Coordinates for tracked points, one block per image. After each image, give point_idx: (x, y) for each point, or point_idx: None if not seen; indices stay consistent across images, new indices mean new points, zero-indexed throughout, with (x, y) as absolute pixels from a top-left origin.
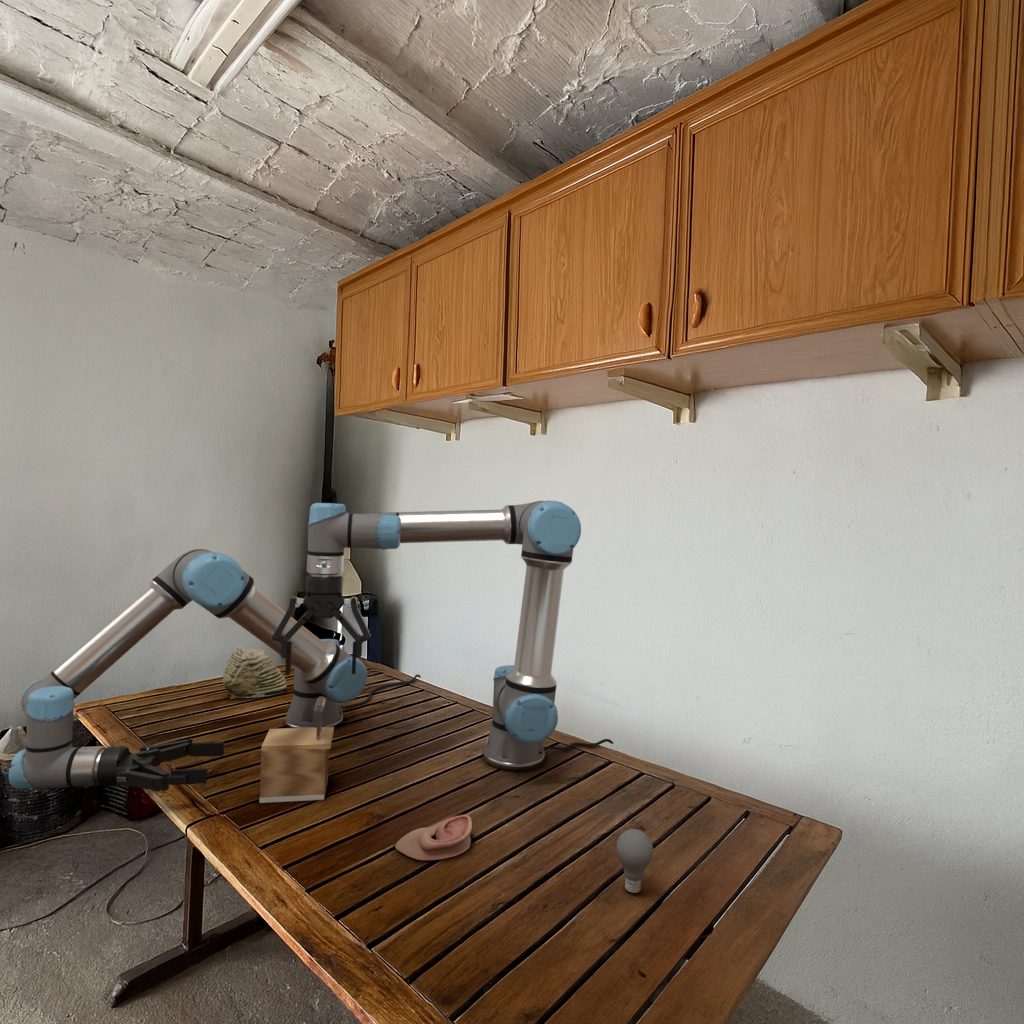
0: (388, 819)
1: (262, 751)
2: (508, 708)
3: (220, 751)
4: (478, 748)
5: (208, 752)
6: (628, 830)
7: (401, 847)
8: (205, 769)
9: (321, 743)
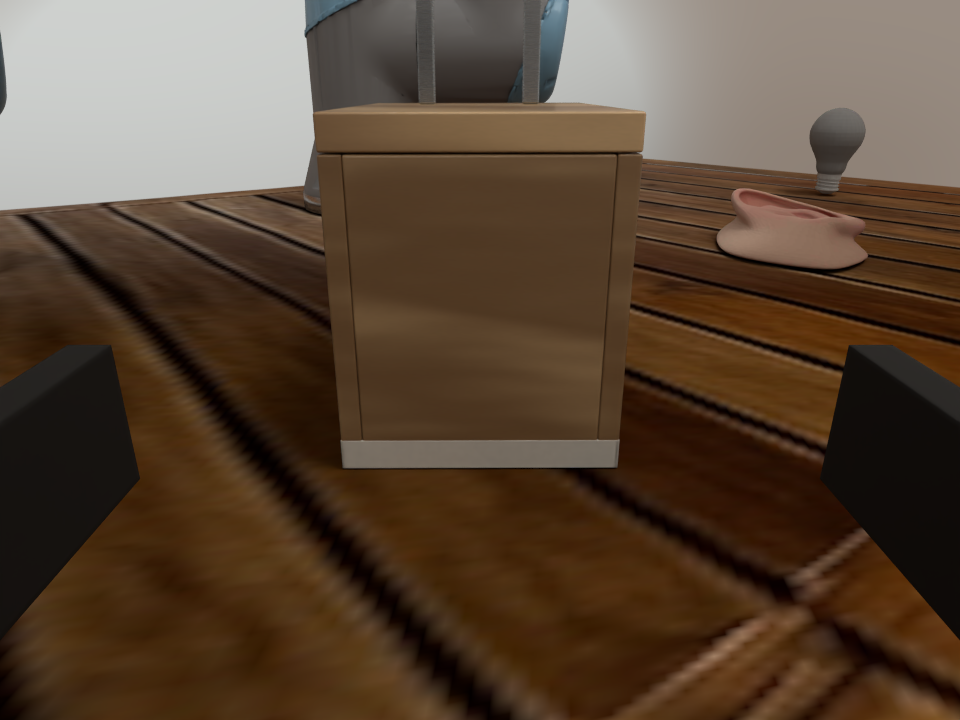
0: (685, 278)
1: (639, 154)
2: (547, 15)
3: (119, 448)
4: (292, 219)
5: (38, 538)
6: (837, 110)
7: (843, 257)
8: (887, 349)
9: (581, 103)
